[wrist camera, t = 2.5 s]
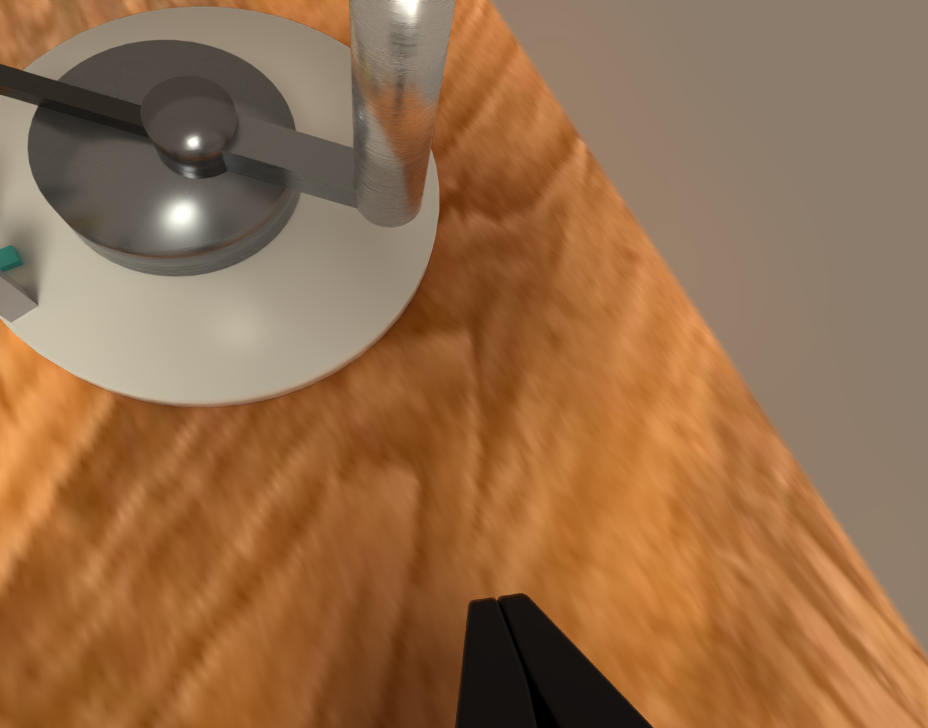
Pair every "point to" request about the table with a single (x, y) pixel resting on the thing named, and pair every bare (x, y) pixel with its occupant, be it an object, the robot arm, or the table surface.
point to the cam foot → (229, 142)
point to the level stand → (224, 291)
